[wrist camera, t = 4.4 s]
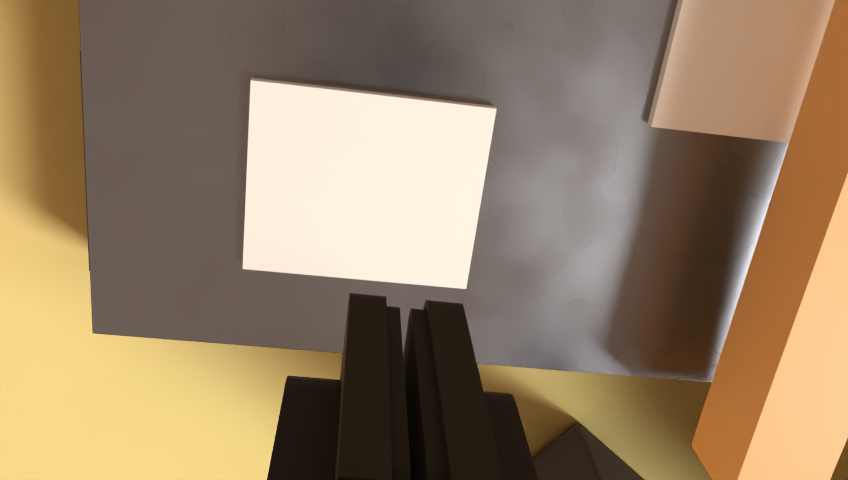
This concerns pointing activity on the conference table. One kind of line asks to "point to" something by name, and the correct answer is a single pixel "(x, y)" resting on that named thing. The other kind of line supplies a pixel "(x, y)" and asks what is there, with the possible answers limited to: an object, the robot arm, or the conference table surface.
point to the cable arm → (792, 305)
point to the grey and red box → (580, 459)
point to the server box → (502, 192)
